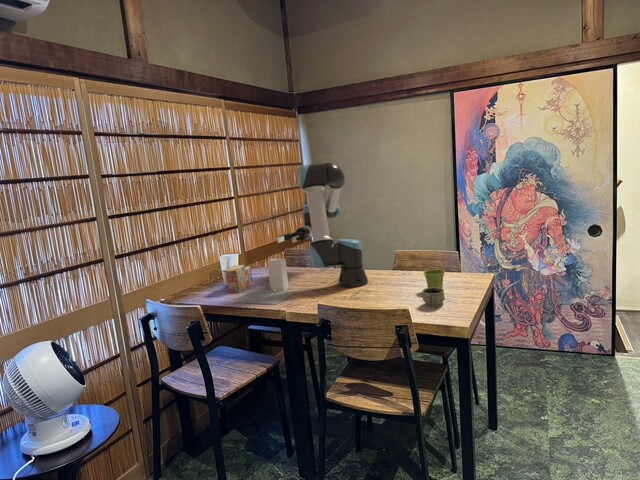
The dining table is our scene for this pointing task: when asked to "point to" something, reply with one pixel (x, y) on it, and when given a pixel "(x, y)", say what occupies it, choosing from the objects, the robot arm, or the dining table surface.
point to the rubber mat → (266, 297)
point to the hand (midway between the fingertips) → (285, 240)
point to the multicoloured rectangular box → (238, 278)
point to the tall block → (278, 274)
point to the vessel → (433, 297)
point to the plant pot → (434, 278)
